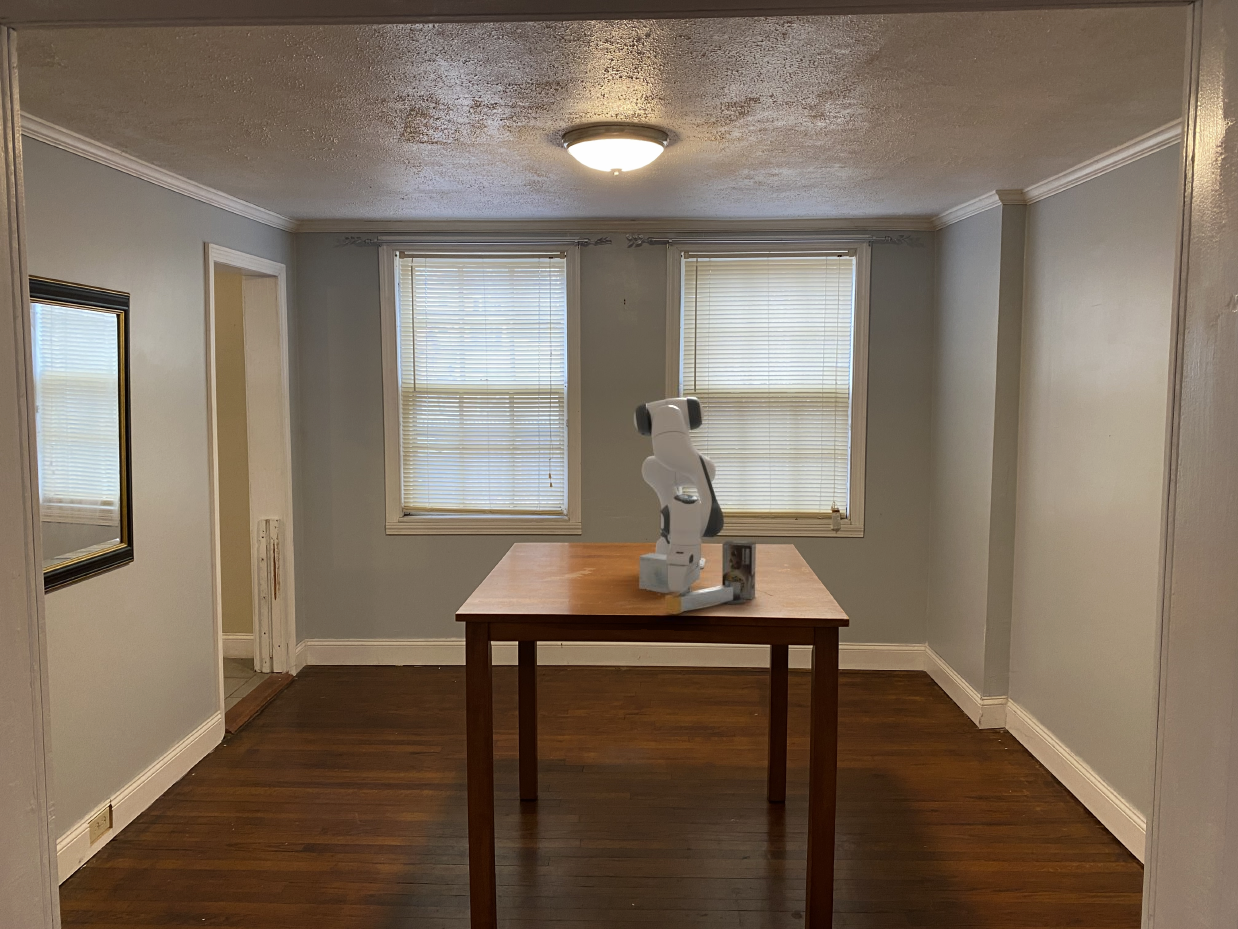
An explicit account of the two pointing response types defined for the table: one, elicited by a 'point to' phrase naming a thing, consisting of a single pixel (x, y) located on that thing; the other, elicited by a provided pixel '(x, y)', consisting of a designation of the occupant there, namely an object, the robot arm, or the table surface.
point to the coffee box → (740, 565)
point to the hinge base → (735, 602)
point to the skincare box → (654, 573)
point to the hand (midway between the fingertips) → (684, 601)
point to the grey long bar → (703, 597)
